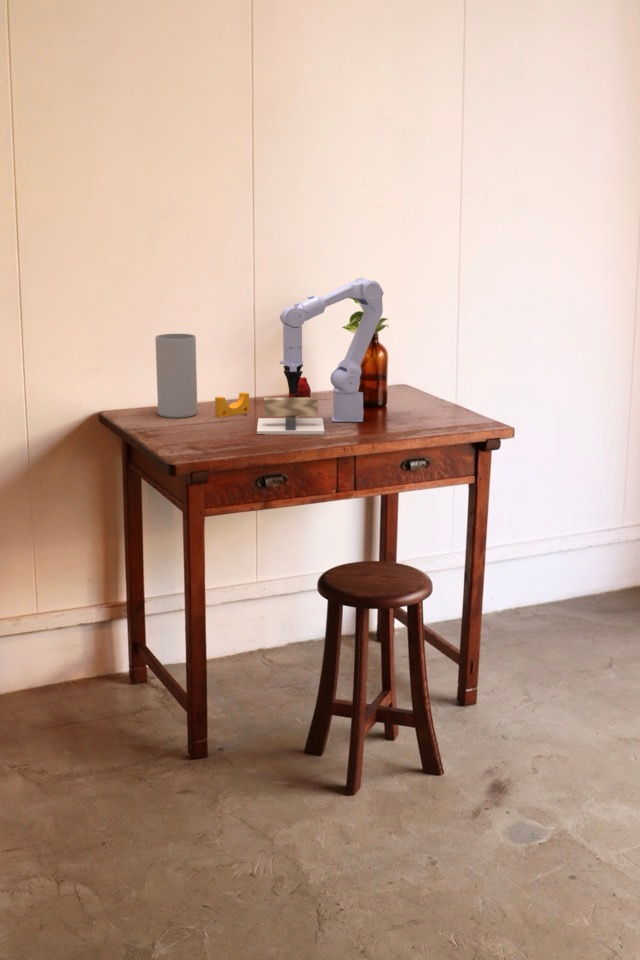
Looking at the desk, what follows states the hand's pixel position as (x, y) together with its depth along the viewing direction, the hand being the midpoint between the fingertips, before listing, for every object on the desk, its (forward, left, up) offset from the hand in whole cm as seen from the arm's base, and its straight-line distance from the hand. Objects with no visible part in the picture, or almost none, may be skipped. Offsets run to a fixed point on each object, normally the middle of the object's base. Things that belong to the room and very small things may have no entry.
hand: (293, 391), depth 353 cm
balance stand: (+1, +5, -10) cm, 12 cm away
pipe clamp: (+20, -15, -11) cm, 27 cm away
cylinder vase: (+37, -15, -11) cm, 41 cm away
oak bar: (+1, +5, -6) cm, 8 cm away
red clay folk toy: (-2, -33, -11) cm, 35 cm away
